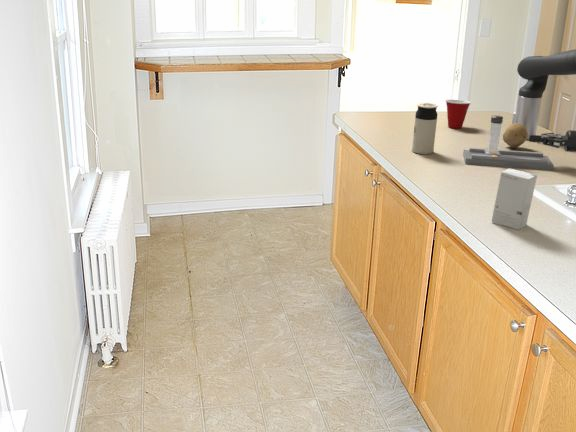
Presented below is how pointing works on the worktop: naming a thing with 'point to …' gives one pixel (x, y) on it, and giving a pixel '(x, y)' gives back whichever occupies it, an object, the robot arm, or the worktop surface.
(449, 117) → the plastic cup
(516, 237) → the worktop surface
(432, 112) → the travel mug
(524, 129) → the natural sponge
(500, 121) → the fader lever
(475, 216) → the worktop surface
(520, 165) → the slider board
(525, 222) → the skincare box
